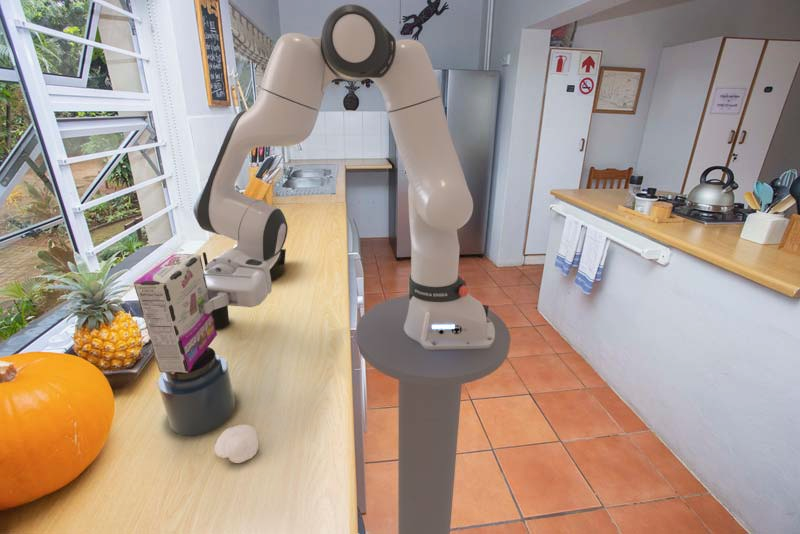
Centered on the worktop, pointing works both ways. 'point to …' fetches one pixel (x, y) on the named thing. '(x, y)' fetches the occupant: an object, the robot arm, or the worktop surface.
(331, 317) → the worktop surface
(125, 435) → the worktop surface
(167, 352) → the candy bar box
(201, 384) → the jar
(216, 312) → the drinking cup
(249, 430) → the dumpling
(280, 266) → the black round tin
